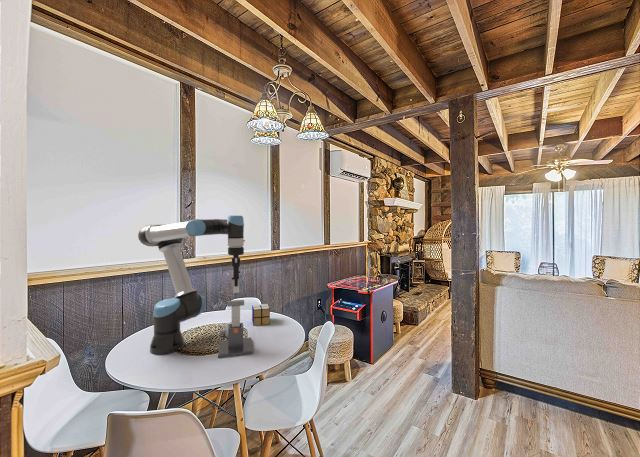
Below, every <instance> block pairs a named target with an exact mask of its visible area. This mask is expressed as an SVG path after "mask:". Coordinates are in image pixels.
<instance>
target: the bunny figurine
mask: <svg viewBox="0 0 640 457" xmlns="http://www.w3.org/2000/svg"><path fill="white" fill-rule="evenodd" d="M229 324H232V321H230V322H228V323H220V324H219V327H220V328H222V329H221V330H220V331H219V335H220V336H224V335H226V336H225V338H226V337H227V338H226V339H228V327H229Z"/></svg>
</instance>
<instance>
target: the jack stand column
mask: <svg viewBox="0 0 640 457" xmlns="http://www.w3.org/2000/svg"><path fill="white" fill-rule="evenodd" d="M226 302H227V305H226V306H227V307H231V322H232V328H239V327H240V323H241V307H243V306H245V300H244V299H236V300H235V299H234V300H228V301H226Z"/></svg>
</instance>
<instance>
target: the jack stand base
mask: <svg viewBox="0 0 640 457" xmlns="http://www.w3.org/2000/svg"><path fill="white" fill-rule="evenodd" d="M228 324H229V323H228ZM253 346H254V345H253V338H252V337H251V336H249V337H244V322H240V327H239V328H232V324H229V327H228V338H227V339H224V340H223V339H222V340H219V345H218V352H217V358H218V359H221V358H229V357H230V358H231V357H237V356H238V357H239V356H248V355H254V347H253Z"/></svg>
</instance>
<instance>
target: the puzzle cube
mask: <svg viewBox="0 0 640 457" xmlns="http://www.w3.org/2000/svg"><path fill="white" fill-rule="evenodd" d="M251 306H252V307H251V308H252V309H251V321H252V325H253V327H255V326H256V327H257V326H266V325H270V323H271V316H270V315H271V307H270V306H269V304H268V303H263V304H262V303H261V304H252V305H251Z"/></svg>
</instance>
